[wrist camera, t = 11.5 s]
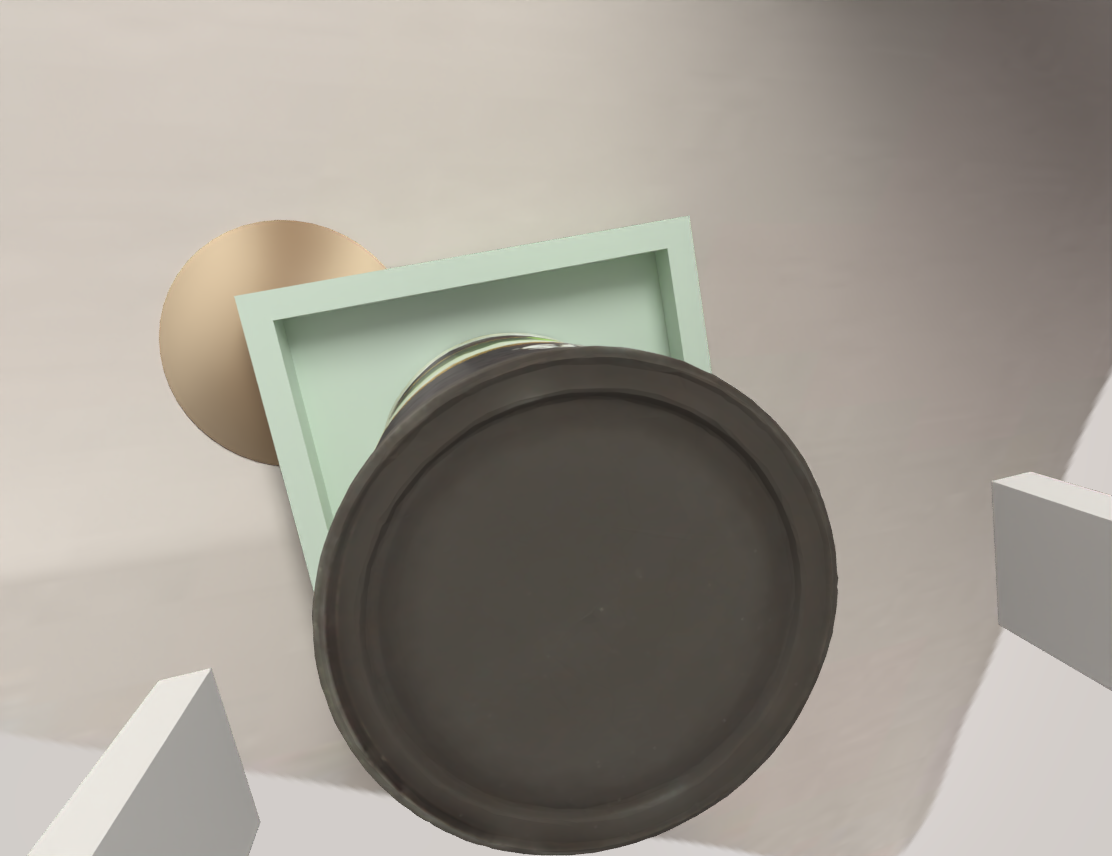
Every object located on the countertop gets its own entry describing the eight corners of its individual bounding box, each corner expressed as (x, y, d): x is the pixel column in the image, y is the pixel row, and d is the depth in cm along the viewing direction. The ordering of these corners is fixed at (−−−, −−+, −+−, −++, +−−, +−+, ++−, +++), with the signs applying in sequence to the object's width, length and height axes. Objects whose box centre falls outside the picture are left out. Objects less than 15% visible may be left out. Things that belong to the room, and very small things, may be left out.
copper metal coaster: (387, 203, 26) (387, 201, 25) (439, 436, 27) (439, 438, 27) (132, 244, 24) (126, 243, 24) (203, 486, 26) (198, 489, 25)
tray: (670, 223, 27) (689, 215, 25) (725, 597, 30) (746, 618, 28) (250, 297, 25) (233, 296, 23) (355, 693, 28) (349, 723, 26)
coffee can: (464, 277, 25) (501, 231, 12) (686, 417, 28) (932, 515, 14) (324, 514, 26) (201, 737, 12) (553, 631, 28) (667, 929, 14)
